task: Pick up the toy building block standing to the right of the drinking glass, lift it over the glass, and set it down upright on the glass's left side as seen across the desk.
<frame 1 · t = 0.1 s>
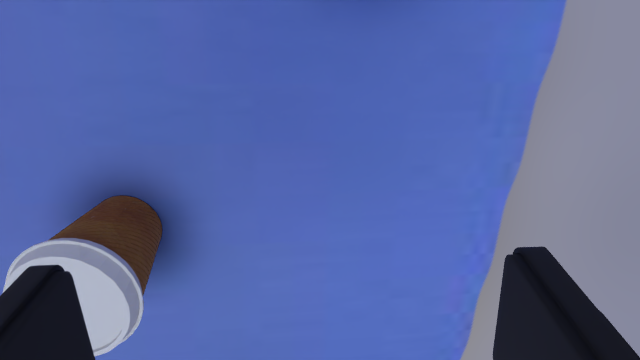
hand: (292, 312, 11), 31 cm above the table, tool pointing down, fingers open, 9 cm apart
disposable coffee cup: (128, 225, 45), on the table
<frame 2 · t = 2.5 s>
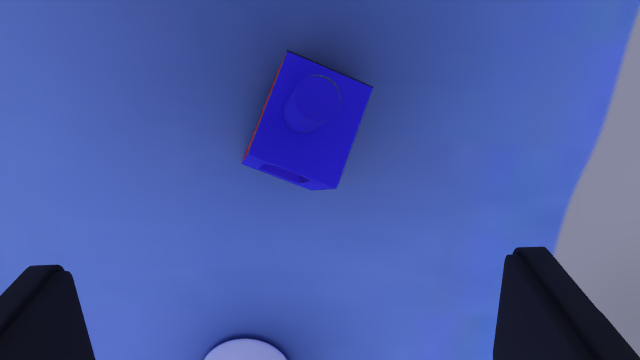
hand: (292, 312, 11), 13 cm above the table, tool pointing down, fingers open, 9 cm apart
toy building block: (302, 114, 23), on the table
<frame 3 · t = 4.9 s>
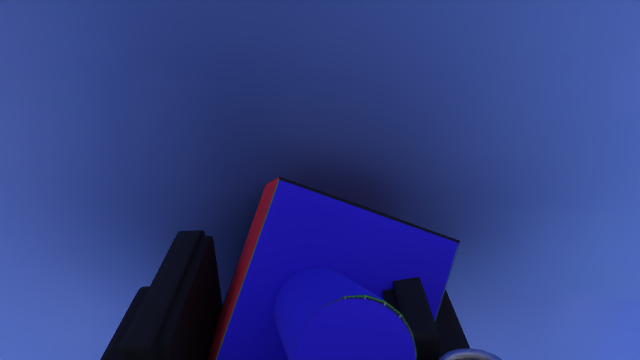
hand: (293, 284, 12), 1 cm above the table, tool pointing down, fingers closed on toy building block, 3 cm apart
toy building block: (313, 248, 13), on the table, touching gripper
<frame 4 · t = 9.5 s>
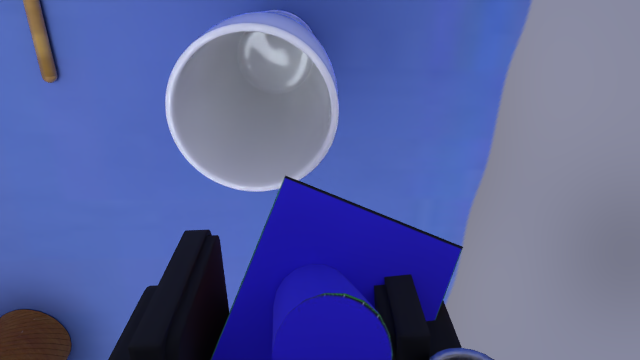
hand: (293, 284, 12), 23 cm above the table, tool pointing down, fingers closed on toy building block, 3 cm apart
drinking glass: (277, 51, 33), on the table
disposable coffee cup: (34, 337, 42), on the table
toy building block: (328, 246, 13), point 22 cm above the table, touching gripper
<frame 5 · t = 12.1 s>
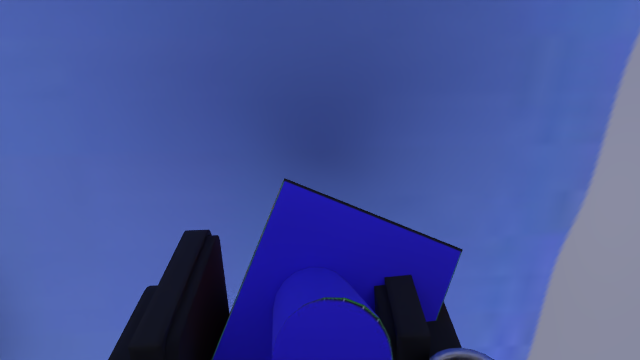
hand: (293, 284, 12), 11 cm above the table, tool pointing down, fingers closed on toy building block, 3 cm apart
toy building block: (327, 248, 13), point 9 cm above the table, touching gripper
when the fingers open (2 cm above the table, at t = 14.2 s): toy building block stays where it is, on the table.
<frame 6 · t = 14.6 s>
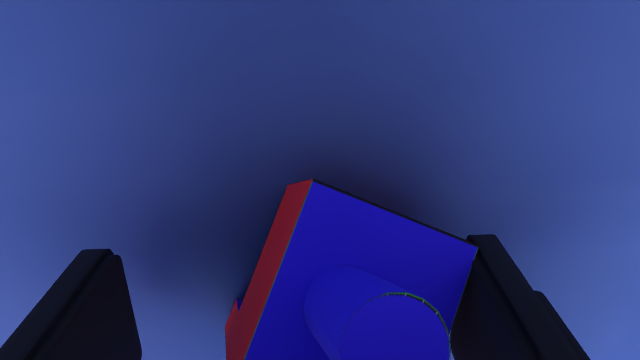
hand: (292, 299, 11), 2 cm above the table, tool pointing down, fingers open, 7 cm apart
toy building block: (329, 248, 14), on the table
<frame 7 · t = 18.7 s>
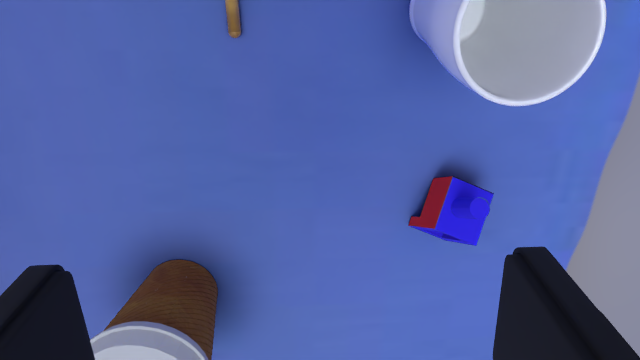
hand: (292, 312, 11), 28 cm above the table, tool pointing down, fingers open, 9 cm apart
drinking glass: (444, 7, 35), on the table
disposable coffee cup: (183, 288, 44), on the table
toy building block: (443, 199, 41), on the table
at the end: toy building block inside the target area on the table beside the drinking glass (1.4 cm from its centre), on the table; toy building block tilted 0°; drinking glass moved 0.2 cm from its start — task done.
